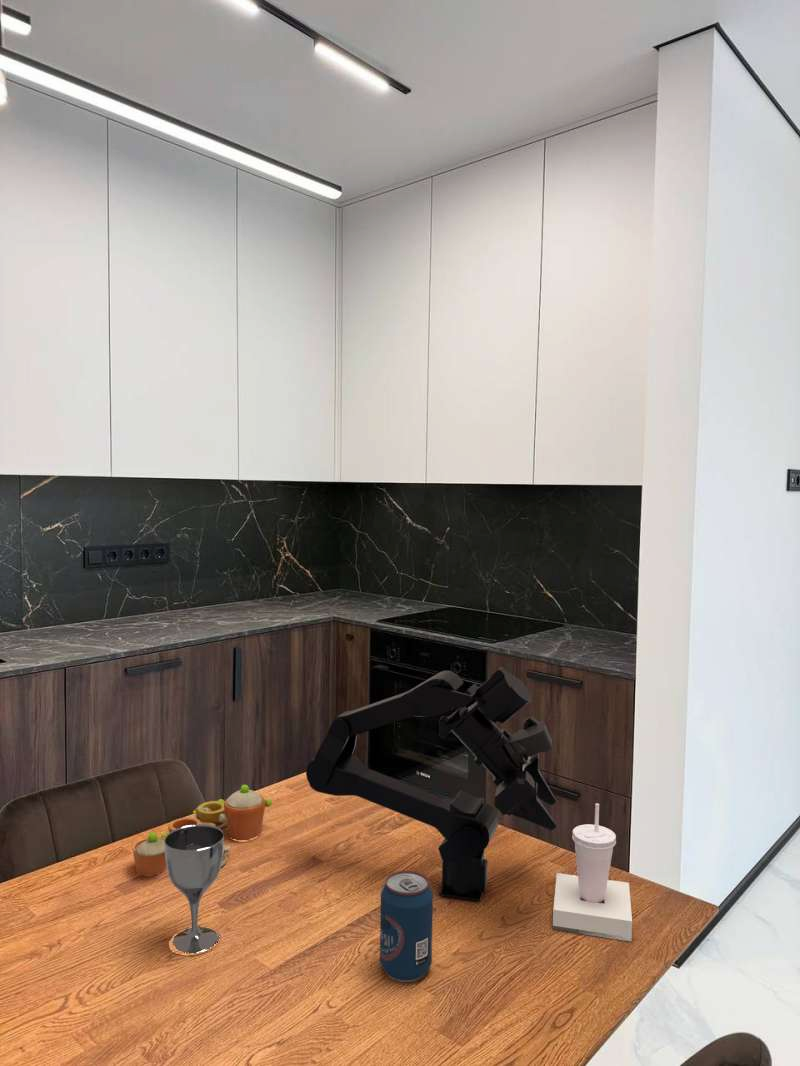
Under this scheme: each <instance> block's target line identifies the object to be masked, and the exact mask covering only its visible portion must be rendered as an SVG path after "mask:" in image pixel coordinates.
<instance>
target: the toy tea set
mask: <svg viewBox="0 0 800 1066" xmlns="http://www.w3.org/2000/svg"><path fill="white" fill-rule="evenodd" d="M272 804H273V802H272V799H271V798H266V799H265V798H264V796H262V795H261V794H259V793H258V792H256V791H254V790H252V789H250V787H249V785H248V784H242V785H241V787H240V789H239V790H237V791H235V792H233V793H232V794H231V795H230V796H229V797H227V798H226V799H222V798H219V799H218V800H210V801H206V802H203V803H200V804H199V805H198V806H197V807H196V808H195V809H194V810H193V811H192V813H193V814H194V815H195V817H182V818H180V817H179V818H177V819H174V820H171V822H169V824H168V825H167V829H168V833H167V832H164V833H162V834H161V835H160V837H158V834H157V832H150V833H149V834H148V837H147V838H143V839H140V840H138V841H137V842H135V843H134V844H133V846H132V853H133V858H134V865H135V870H136V874H137V873H138V874H137V875H139V874H140V875H139V876H141V875H144V876H143V877H151V876H150V875H155V874H158V873H160V872H162V871H163V870H164V869H165V870H166V869H167V868H166V862H165V837H166V836H167V835H168V834H169V833H170V832H172V831H173V830H175V829H178V828H180V827H184V826H188V825H196V824H206V825H212V826H215V827H218V828H220V829H221V828H222V829H224V828H226V827H227V834H228V838H229V837H230V838H232V839H236V840H249V839H251V838H254V837H256V836H258V835H259V834H260V833H261V834H262V829H263V821H264V815H265V810H266V809H265V808H269V807H271V806H272ZM225 826H226V827H225ZM223 827H224V828H223ZM222 829H221V830H222ZM230 838H229V839H230ZM230 851H231V846H229V845H224V848H223V858H222V863H221V867H220V868H222V867H223V866H225V864H226V863H227V861H228V856H227V853H230ZM165 870H164V871H165ZM164 871H163V872H164ZM163 872H162V873H163ZM160 874H161V873H160ZM148 875H149V876H148ZM158 875H159V874H158ZM155 876H156V875H155Z"/></svg>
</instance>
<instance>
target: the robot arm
mask: <svg viewBox="0 0 800 1066" xmlns="http://www.w3.org/2000/svg"><path fill="white" fill-rule="evenodd" d="M474 700H475V702H474V703H473V704H471V705H469V704H470V703H471V702H472V701H474ZM532 700H533V699H532V694H531V692H530V690H529V688H528V687H527V686H526V684H525V683H524V682H523V680H521V678H517V676H515V675H514V674H512V673H511V672H508V671H507V670H506V669H505V668H504V667H503V666H500V667H499V668H498V669H497V670H495V672H493V673H492V675H491V676H490V678H488V679H487V680H486V681H485V682H484V683H478V682H476V681H475V682H474V681H471V680H467V679H465V678H461V677H460V676H459V675H458V674H457V673H455V672H454V671H452V670H442V671H440V672H439V673H436V674H435V675H433V676H431V677H429V678H428V679H426V680H425V681H423V682H421V683H419V684H418V685H416V686H415V687H413V688H411V689H410V690H407V691H405V692H403V693H399V694H397V695H394V696H391V697H388V698H385V699H382V700H380V701H376V702H374V703H371V704H367V705H365V706H362V707H359V708H357V709H353V710H347V711H343V713H341V714H339V715H338V716H336V717H334V719H333V720H332V721H331V724H330V725H329V729H328V731H327V733H326V736H325V737H324V739H323V740H322V743H321V745H319V748H318V750H317V752H316V754H315V756H314V758H313V759H312V760H311V761H310V762H309V763H307V766H306V769H305V770H306V771H305V776H306V780H307V781H308V784H309V787H310V788H311V789H312V790H313V791H315V792H317V793H321V794H325V795H331V796H336V797H339V796H340V797H341V796H344V797H345V796H346V797H347V796H348V797H349V796H353V797H358V798H360V799H363V800H366V801H368V802H371V803H373V804H376V805H378V806H381V807H383V808H386V809H388V810H390V811H393V812H395V813H397V814H401V815H403V816H406V817H408V818H411V819H413V820H415V821H418V822H421V823H423V824H425V825H428V826H430V827H432V828H434V829H436V830H437V832H439V834H441V836H442V837H444V838H443V840H442V842H441V843H440V844H439V846H438V851H439V854H440V857H441V861H442V862H441V863H442V868H441V871H442V872H441V886H440V888H439V896H441V897H446V898H453V899H460V900H466V901H475V902H480V901H481V900H482V896H483V893H485V892H486V890H487V886H488V864H489V863H488V860H487V858H486V859H485V850H486V848H487V847H488V846H489V844H490V842H491V840H492V838H493V837H494V836H495V833H496V832H497V829H498V827H499V818H498V814H497V812H496V811H495V808H496V810H498V811H499V812H500V813H501V815H503V816H506V815H507V816H514V817H517V818H519V819H522V820H525V821H528V822H530V823H533V824H535V825H537V826H540V827H542V828H545V829H547V830H548V831H549V830H550V831H553V830H555V829H556V828H557V823H556V822H555V820H554V818H553V817H552V816H551V814H550V813H549V812H548V810H547V808H546V807H545V806H544V804H543V803H542V801H543V802H544V803H546V804H547V805H550V806H554V804H555V803H557V799H556V797H555V796H554V794H553V792H552V790H551V789H550V788H551V787H549V785H548V783H547V782H546V780H545V778H544V776H543V774H542V773H541V770H540V768H539V760H540V757H539V756H540V753H544V754H545V753H547V752H549V751H551V750H552V749H553V739H552V737H551V734H550V733H549V729H548V726H547V724H546V723H545V722H544V721H538V720H537V719H536V718H535V717H534V716H533V715H532V716H529V717H526V718H524V720H523V729H522V728H520V729H518V731H516V732H515V733H511V732H510V731H509V730H508V729H505V728H501V729H500V728H499V727H498V725H496V723H500V724H505V723H506V722H507V721H508V720H509V721H510V719H511V718H512V717H514V716H515V715H516V714H517V713H519V711H521V710H522V709H523V708H524V707H525V706H527V705H528V704H529V703H530V702H531V701H532ZM467 705H469V706H468V707H467ZM453 709H456V710H455V712H453V713H452V714H451V715H448V716H446V714H448V713H450V712H451V711H452V710H453ZM444 715H445V716H444ZM435 716H436V717H437V716H441V717H440V719H439V720H438V725H439V732H438V733H439V734H438V736H439V738H440V739H444V738H445V737H446V736H447V735H448V734H450V733H451V732H452V734H453V735H455V736H456V737H457V739H459V741H460V742H461V743H462V744H463V745H464V746H465V747H466V748H467V750H469V752H470V753H471V754H472V755H473V756H474V757H475V758H474V761H473V762H474V763H475V764H476V765H477V766H478V767H480V766H481V765H482V766H483V767H484V768H485V769H486V770H487V771H488V772H489V774H490V775H492V777H493V779H492V783H493V784H494V785H495V786H496V788H495V795H494V807H493V806H492V805H491V804H489V803H487V802H485V797H477V796H474V795H471V794H470V793H469V792H466V791H463V790H459V792H458V793H457V795H456V796H455V798H446V797H443V796H440V795H437V794H435V793H433V792H430V791H427V790H424V789H422V788H419V787H417V786H414V785H412V784H408V783H406V782H403V781H402V780H398V779H396V778H394V777H391V776H388V775H385V774H383V773H381V772H377V771H375V770H373V769H370V768H369V767H367V766H366V765H365V764H364V763H363V762H362V761H361V759H360V758H359V757H358V756H357V755H355V754H354V752H355V749H356V746H357V741H358V740H357V739H358V735H360V734H363V733H366V732H369V731H372V730H375V729H378V728H381V727H385V726H387V725H390V724H393V723H396V722H399V721H402V720H404V719H409V718H415V717H418V718H419V717H421V718H427V717H428V718H430V717H435Z"/></svg>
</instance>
